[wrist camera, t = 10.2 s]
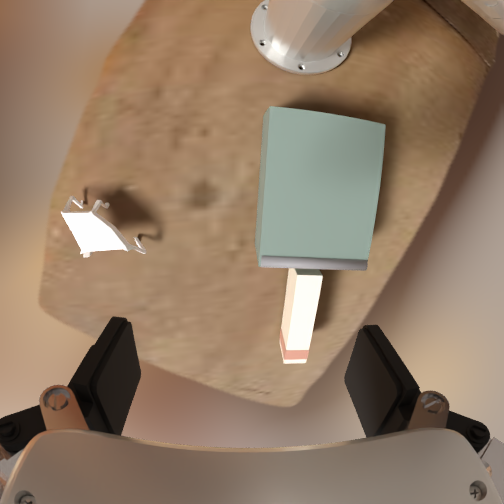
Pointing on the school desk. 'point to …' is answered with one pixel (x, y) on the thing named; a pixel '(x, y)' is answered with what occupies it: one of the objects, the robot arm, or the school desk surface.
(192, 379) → the school desk surface
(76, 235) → the white scroll-footed stand
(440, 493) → the robot arm
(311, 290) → the pink-banded cream bar
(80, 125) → the school desk surface
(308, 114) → the block
